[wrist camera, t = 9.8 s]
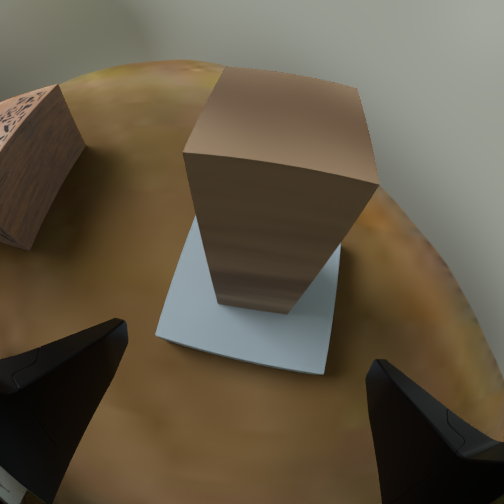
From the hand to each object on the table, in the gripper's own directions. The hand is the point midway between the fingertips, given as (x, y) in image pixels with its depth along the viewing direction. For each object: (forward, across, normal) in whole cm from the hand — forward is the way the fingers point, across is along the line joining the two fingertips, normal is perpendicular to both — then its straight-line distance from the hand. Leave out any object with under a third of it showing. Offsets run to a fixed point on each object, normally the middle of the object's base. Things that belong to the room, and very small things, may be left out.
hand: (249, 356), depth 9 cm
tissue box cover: (+16, +36, -1) cm, 39 cm away
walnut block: (+10, 0, +1) cm, 10 cm away
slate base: (+12, 0, +3) cm, 12 cm away
